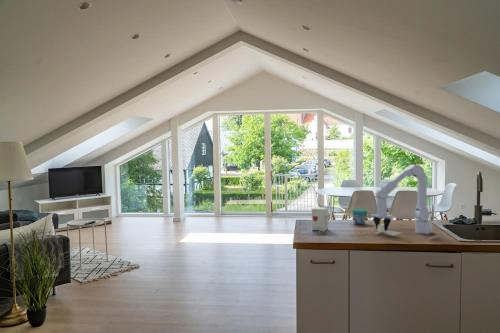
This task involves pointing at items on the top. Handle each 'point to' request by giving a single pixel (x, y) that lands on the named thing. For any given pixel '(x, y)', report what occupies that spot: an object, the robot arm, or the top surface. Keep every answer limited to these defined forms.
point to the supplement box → (319, 218)
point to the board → (389, 233)
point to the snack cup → (359, 215)
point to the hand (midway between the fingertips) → (381, 229)
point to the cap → (381, 228)
